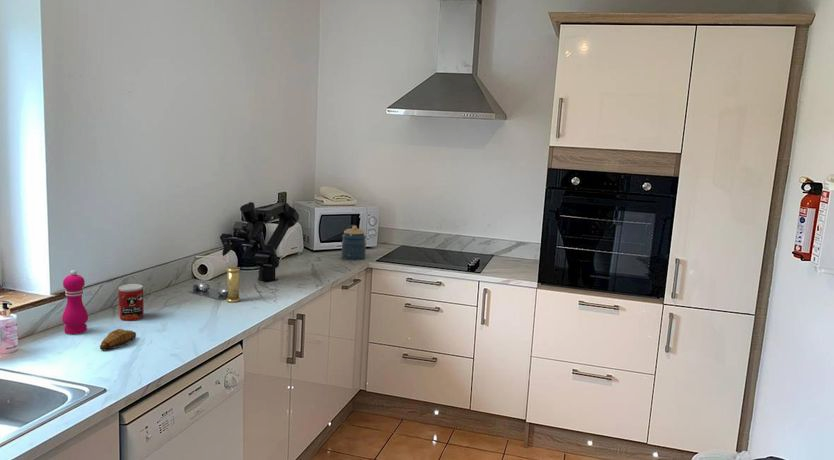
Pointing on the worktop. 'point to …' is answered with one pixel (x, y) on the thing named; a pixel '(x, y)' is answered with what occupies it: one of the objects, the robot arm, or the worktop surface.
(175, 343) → the worktop surface
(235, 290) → the gold flanged cylinder
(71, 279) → the pepper mill
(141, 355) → the worktop surface
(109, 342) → the croissant
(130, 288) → the canned food
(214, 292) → the shaft bed
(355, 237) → the canister
